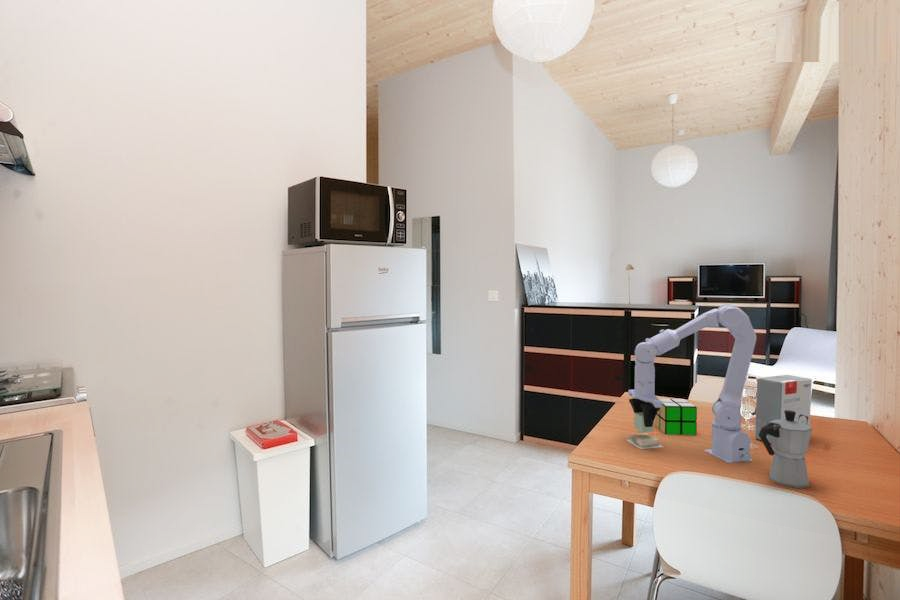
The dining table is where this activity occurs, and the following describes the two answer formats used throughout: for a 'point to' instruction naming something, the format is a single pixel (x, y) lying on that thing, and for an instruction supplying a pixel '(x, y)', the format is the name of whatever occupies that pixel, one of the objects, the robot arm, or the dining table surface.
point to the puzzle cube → (677, 417)
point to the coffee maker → (787, 450)
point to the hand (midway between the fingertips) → (644, 424)
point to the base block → (644, 440)
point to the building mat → (643, 447)
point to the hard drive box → (782, 400)
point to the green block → (641, 423)
